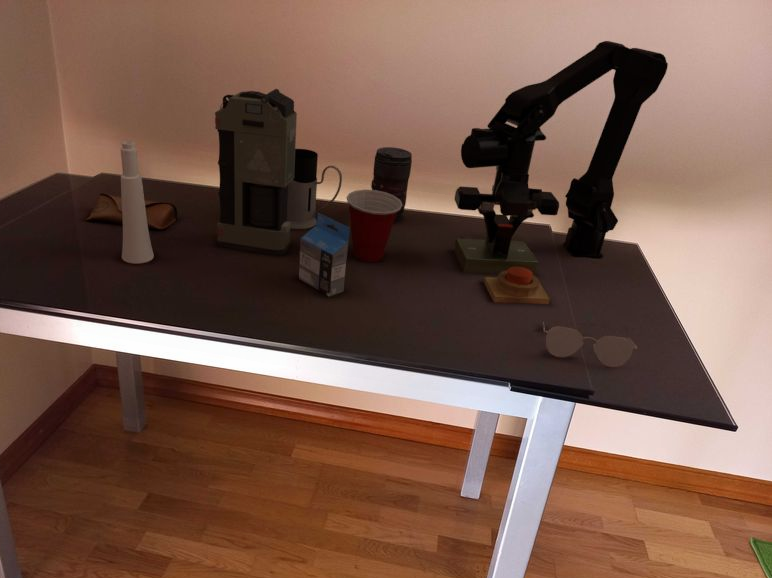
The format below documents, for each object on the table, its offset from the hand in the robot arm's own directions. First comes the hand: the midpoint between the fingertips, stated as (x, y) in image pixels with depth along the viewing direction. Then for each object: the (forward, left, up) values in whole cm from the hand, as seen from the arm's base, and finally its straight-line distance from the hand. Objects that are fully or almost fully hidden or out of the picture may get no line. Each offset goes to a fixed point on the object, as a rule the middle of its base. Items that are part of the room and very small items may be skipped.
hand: (497, 242), depth 137 cm
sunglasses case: (+75, -15, -5) cm, 77 cm away
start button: (-1, +13, -2) cm, 13 cm away
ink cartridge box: (+35, +13, -5) cm, 38 cm away
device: (+48, -4, -5) cm, 48 cm away
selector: (0, 0, -1) cm, 1 cm away
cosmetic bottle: (+70, +4, -5) cm, 70 cm away
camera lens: (+19, -23, -5) cm, 30 cm away
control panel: (0, 0, -4) cm, 4 cm away
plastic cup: (+25, -1, -5) cm, 25 cm away
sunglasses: (-7, +32, -5) cm, 33 cm away
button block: (-1, +13, -4) cm, 14 cm away
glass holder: (+37, -17, -5) cm, 41 cm away
